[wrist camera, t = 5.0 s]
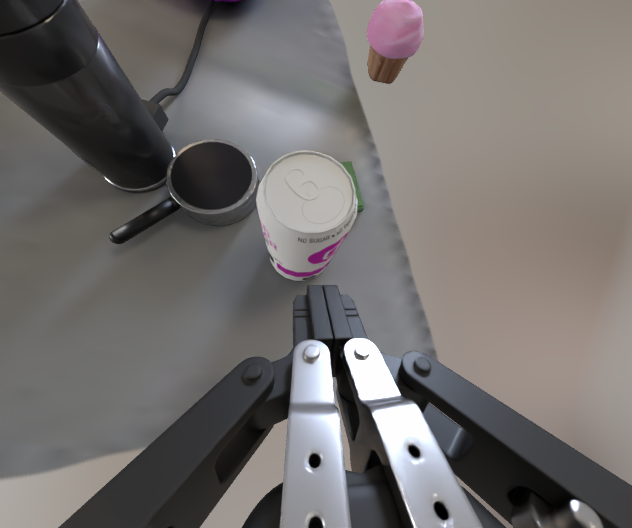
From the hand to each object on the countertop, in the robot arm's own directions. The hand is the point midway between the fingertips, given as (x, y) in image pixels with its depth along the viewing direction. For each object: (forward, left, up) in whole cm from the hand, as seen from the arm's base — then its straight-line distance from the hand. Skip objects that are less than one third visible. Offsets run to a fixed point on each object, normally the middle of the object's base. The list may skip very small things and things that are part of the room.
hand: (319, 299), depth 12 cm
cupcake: (-40, +22, -18) cm, 49 cm away
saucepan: (-17, -12, -18) cm, 27 cm away
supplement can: (-8, +1, -18) cm, 20 cm away
